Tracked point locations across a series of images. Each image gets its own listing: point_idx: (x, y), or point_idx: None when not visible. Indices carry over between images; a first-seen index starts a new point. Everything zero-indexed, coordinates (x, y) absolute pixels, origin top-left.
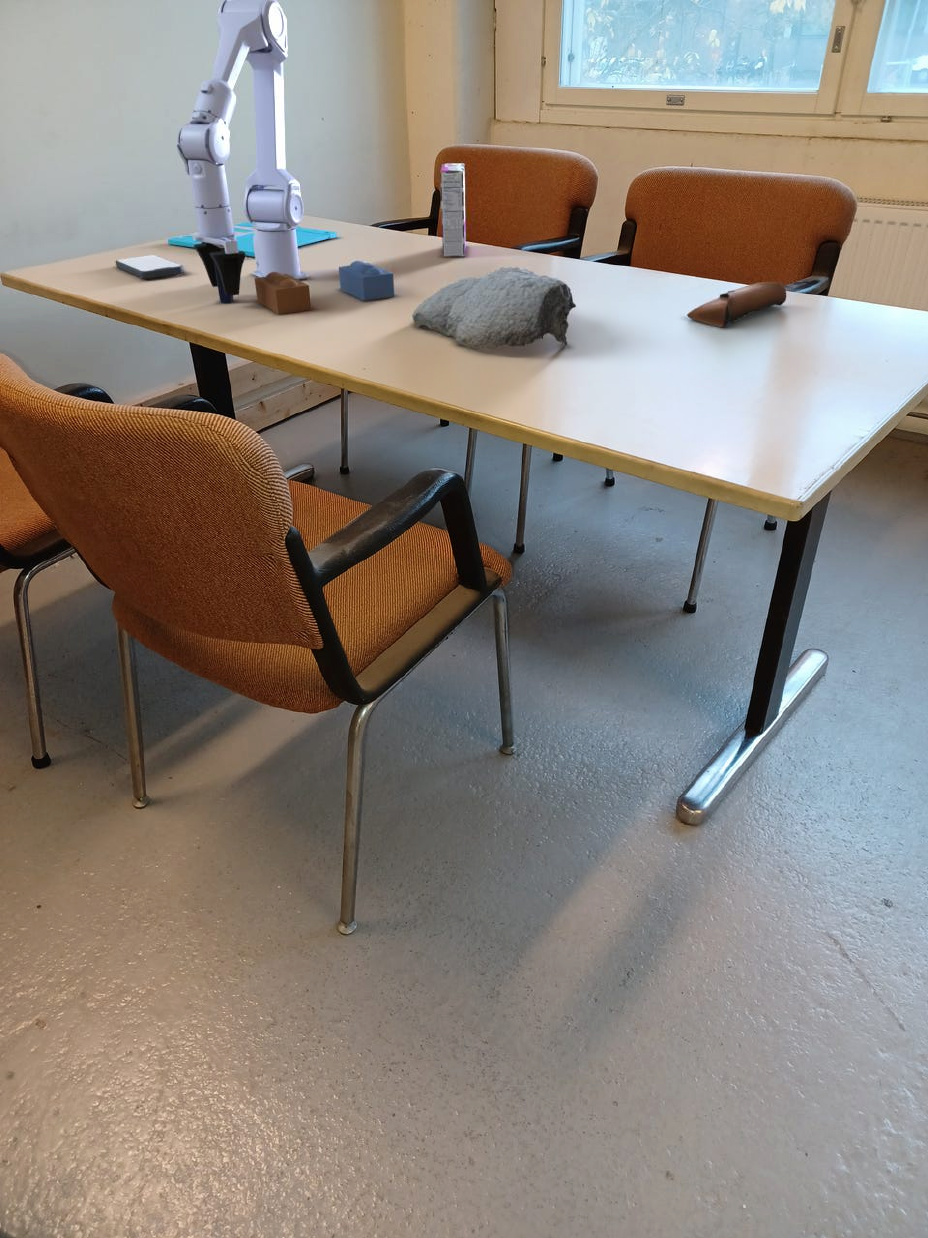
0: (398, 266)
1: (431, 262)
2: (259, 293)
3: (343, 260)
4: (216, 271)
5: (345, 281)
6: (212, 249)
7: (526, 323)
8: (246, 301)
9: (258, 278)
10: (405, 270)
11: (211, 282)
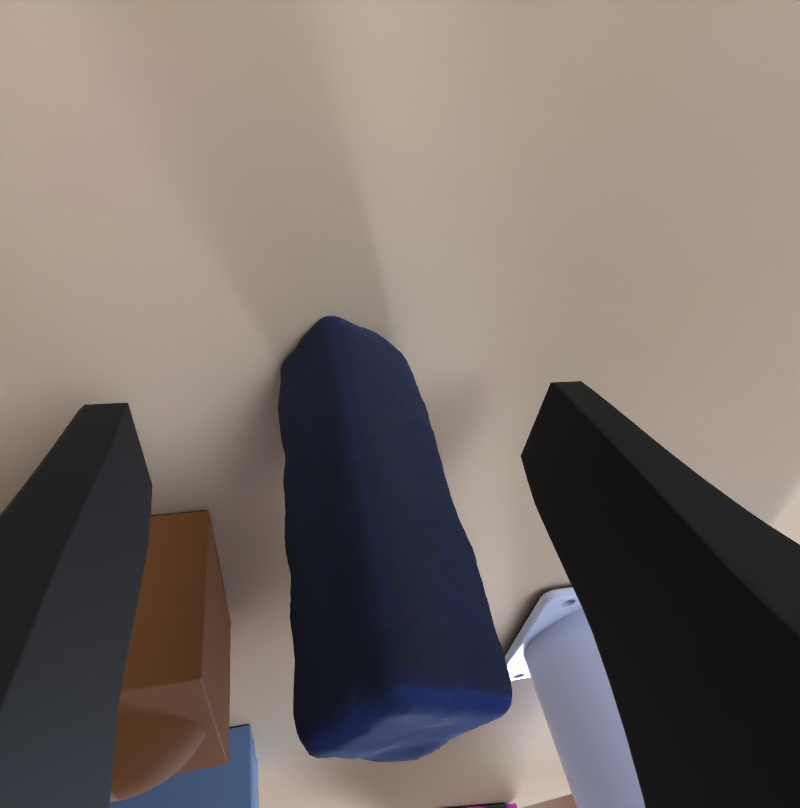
0: (429, 777)
1: (409, 802)
2: None
3: None
4: (368, 570)
5: (186, 786)
6: (747, 795)
7: None
8: (264, 463)
9: (166, 693)
10: (375, 787)
11: (570, 403)
